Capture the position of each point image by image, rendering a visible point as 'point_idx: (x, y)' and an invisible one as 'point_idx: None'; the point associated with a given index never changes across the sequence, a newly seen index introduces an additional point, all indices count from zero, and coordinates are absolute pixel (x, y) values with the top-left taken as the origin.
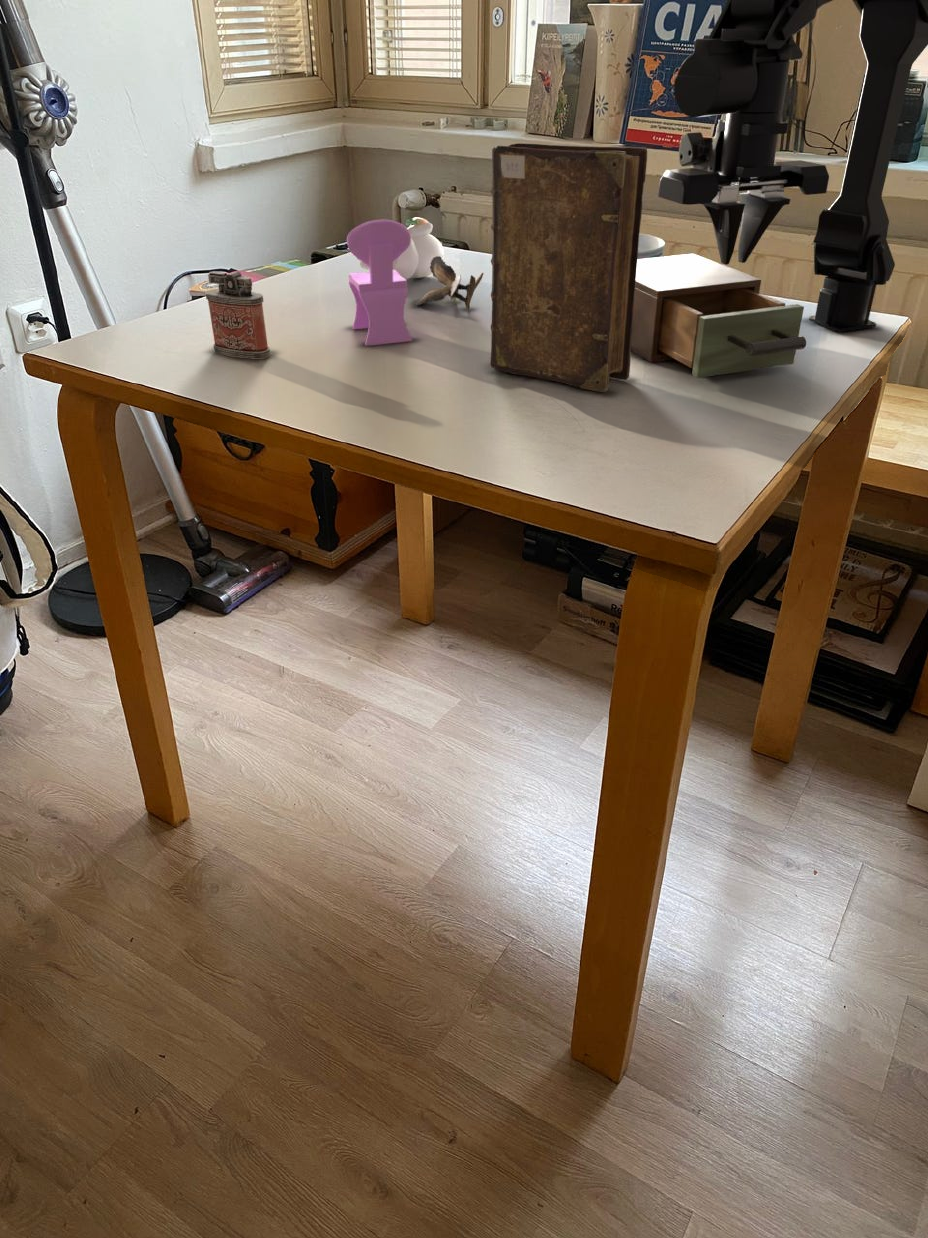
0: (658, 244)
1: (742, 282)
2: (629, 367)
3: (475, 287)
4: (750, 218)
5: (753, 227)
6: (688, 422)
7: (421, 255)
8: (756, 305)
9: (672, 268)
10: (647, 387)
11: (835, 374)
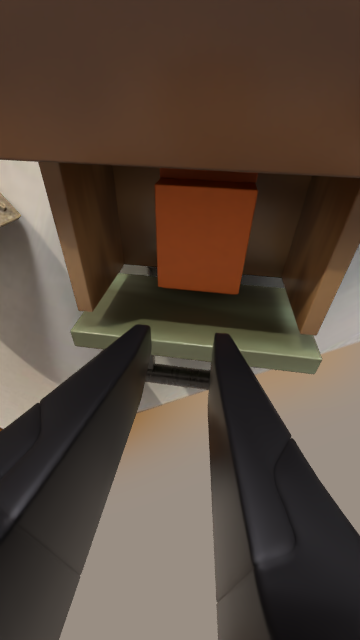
0: None
1: (356, 177)
2: (8, 223)
3: None
4: (227, 561)
5: (217, 517)
6: (65, 352)
7: None
8: (325, 236)
9: None
10: (47, 254)
11: (330, 329)
